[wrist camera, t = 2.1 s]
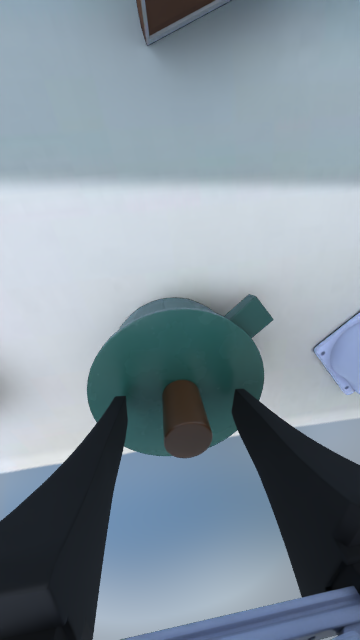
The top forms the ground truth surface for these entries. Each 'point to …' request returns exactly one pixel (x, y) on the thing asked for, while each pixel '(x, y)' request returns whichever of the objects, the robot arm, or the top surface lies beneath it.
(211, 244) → the top surface
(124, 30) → the top surface
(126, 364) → the pot lid
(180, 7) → the cake slice
